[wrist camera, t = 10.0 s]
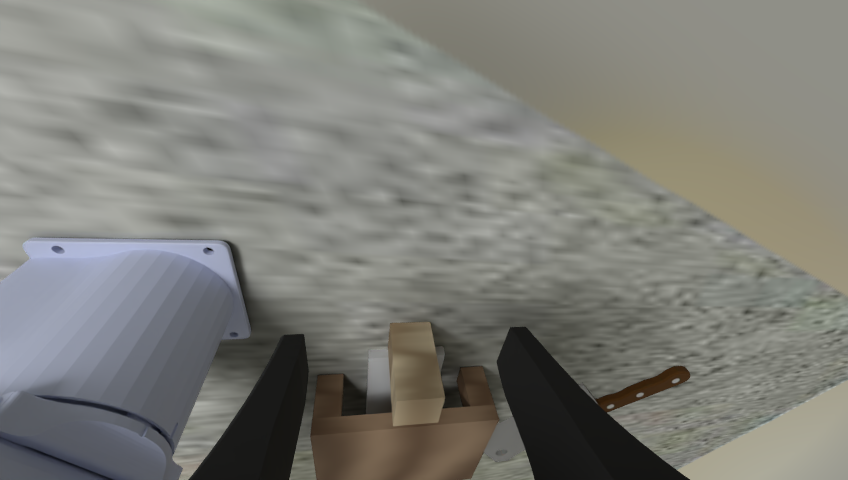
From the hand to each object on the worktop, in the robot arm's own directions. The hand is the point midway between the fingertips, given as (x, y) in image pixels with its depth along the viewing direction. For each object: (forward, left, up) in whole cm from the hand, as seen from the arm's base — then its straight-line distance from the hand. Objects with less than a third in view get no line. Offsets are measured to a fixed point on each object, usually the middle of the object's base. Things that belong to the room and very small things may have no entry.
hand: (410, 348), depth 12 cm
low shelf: (+2, -21, -9) cm, 23 cm away
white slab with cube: (+2, -18, -9) cm, 20 cm away
